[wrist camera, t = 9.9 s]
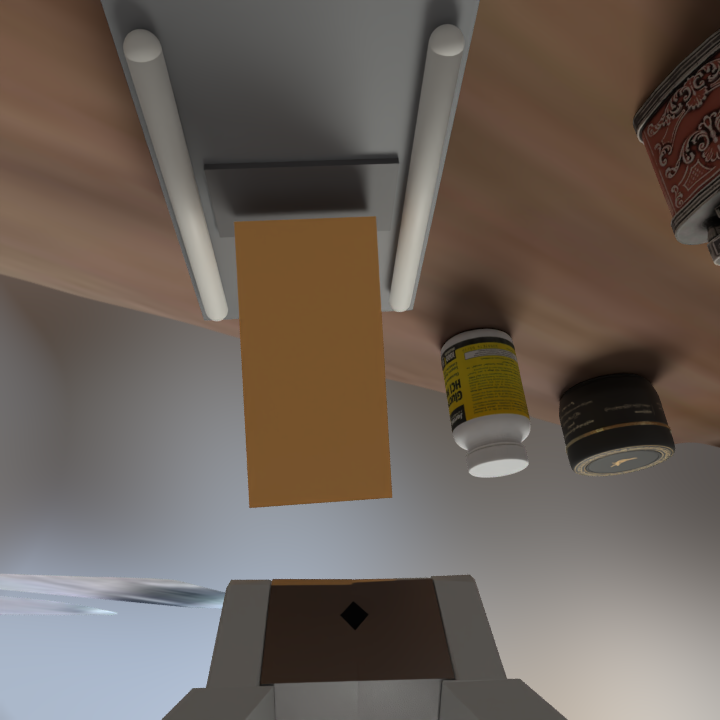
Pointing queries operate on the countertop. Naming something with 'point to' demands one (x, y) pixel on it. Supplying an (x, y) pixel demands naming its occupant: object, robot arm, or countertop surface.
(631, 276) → the countertop surface
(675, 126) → the lighter
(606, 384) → the jar
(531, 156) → the countertop surface
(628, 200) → the countertop surface
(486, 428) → the pill bottle
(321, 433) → the lever
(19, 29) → the countertop surface
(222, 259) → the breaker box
